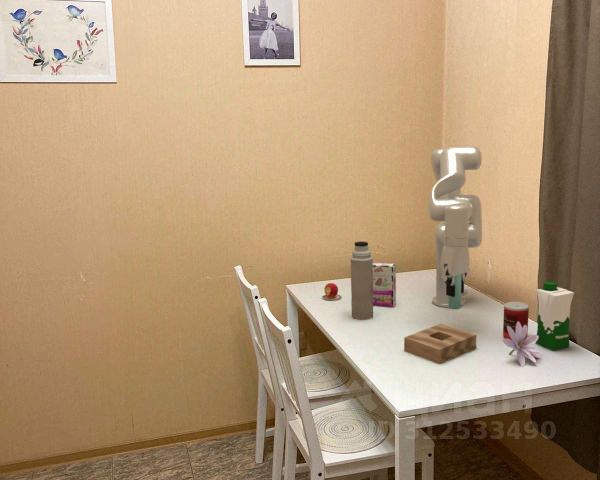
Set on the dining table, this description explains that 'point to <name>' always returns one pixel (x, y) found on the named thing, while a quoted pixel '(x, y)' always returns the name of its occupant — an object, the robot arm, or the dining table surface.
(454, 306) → the peg
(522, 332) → the water lily
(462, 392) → the dining table surface
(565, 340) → the milk carton
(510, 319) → the canned food
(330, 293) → the apple
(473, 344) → the socket block
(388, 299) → the candy bar box
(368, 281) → the thermos bottle
